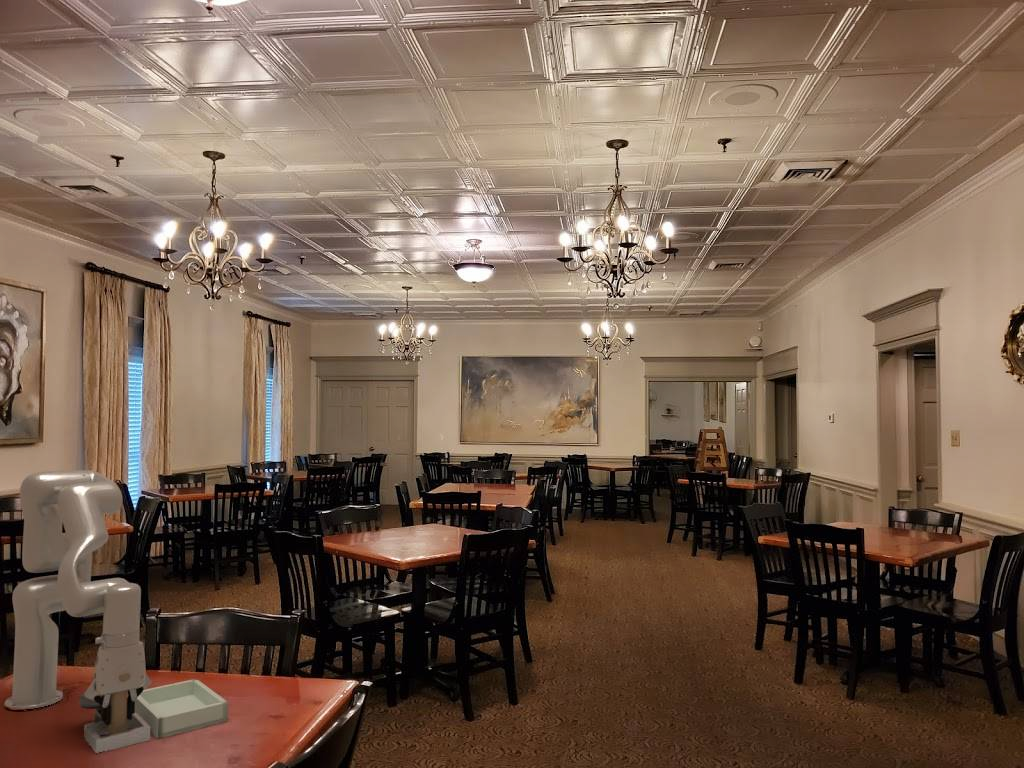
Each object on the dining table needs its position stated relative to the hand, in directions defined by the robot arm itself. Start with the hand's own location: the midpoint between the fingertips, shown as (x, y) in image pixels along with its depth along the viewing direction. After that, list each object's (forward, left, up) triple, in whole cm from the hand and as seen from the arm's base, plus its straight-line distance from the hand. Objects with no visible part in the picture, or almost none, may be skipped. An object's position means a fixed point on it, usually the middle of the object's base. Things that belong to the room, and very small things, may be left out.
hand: (117, 719), depth 170 cm
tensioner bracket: (-5, 0, -4) cm, 7 cm away
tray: (-5, +15, -4) cm, 16 cm away
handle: (0, 0, -4) cm, 4 cm away
